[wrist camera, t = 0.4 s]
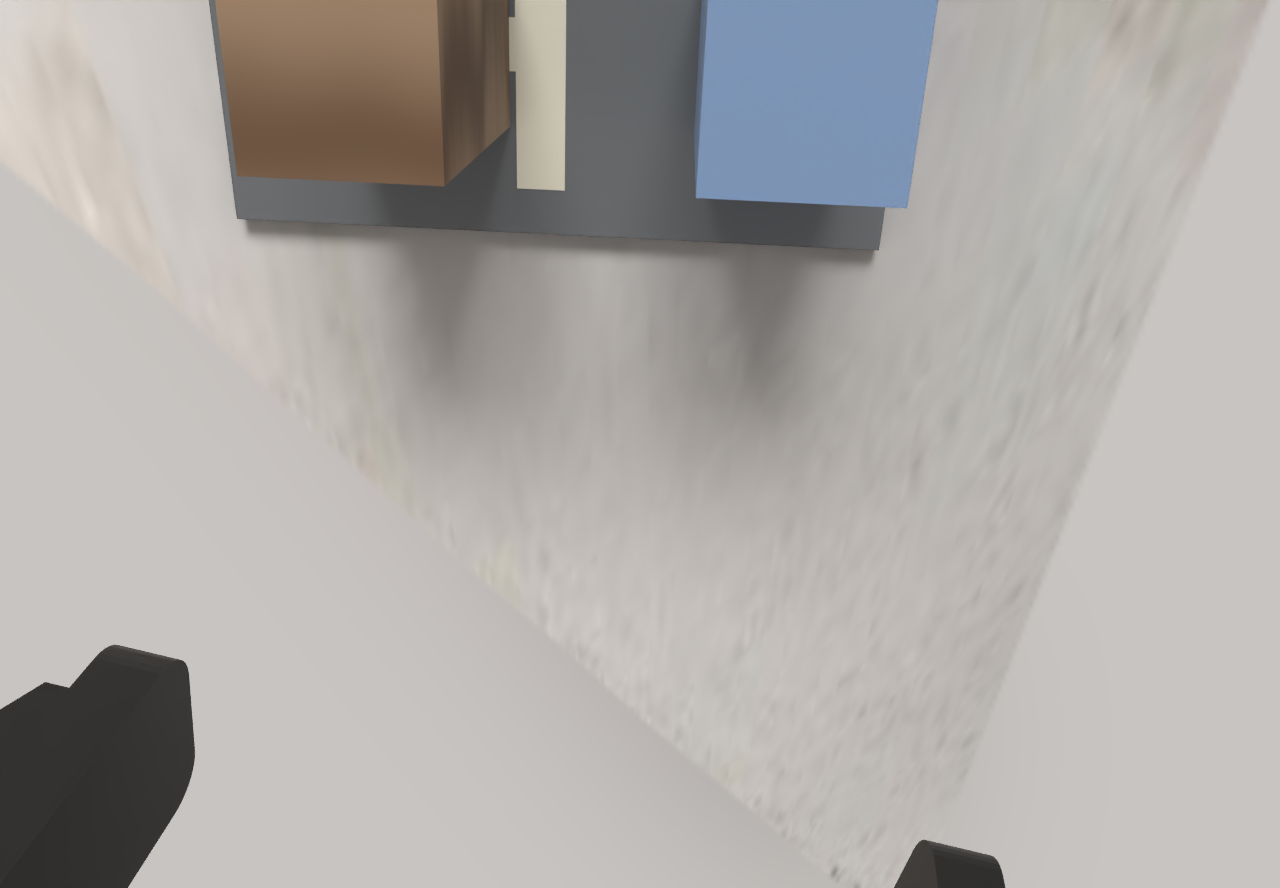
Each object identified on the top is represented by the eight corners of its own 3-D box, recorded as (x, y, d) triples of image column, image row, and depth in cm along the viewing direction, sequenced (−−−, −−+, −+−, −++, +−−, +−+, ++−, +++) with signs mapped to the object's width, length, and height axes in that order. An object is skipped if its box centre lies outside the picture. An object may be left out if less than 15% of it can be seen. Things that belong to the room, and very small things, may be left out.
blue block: (703, -35, 31) (710, -34, 22) (868, -28, 31) (941, -24, 22) (693, 134, 33) (695, 197, 24) (847, 141, 33) (907, 208, 24)
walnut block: (345, -50, 31) (207, -56, 22) (508, -43, 31) (434, -46, 22) (358, 119, 34) (237, 176, 25) (510, 126, 33) (444, 186, 24)
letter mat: (183, -266, 30) (173, -271, 29) (943, -237, 29) (948, -241, 29) (244, 214, 36) (236, 219, 35) (875, 245, 35) (878, 250, 35)
